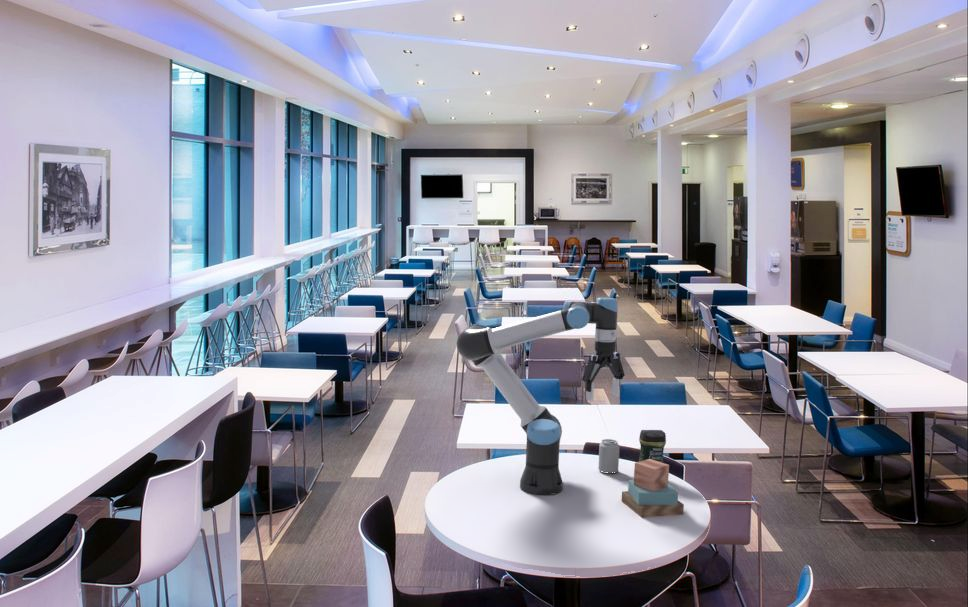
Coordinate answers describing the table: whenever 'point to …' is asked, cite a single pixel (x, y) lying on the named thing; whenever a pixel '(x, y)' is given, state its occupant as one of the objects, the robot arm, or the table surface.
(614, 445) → the can
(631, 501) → the tower base
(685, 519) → the table surface
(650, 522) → the table surface
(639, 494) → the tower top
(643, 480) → the block
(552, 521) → the table surface
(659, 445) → the coffee jar
